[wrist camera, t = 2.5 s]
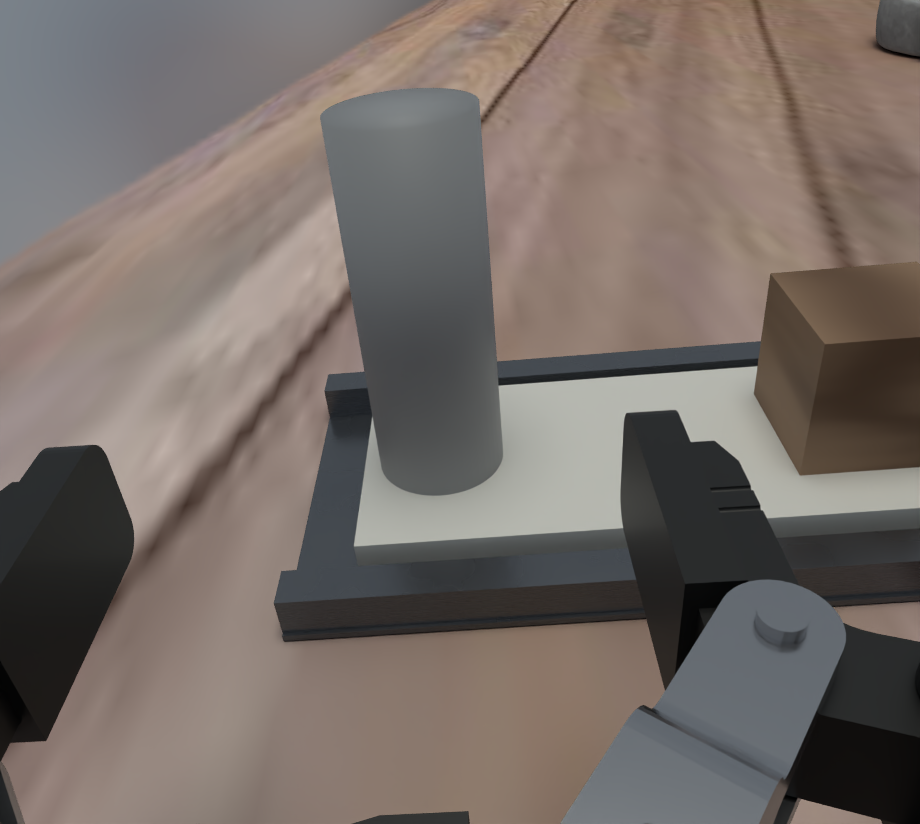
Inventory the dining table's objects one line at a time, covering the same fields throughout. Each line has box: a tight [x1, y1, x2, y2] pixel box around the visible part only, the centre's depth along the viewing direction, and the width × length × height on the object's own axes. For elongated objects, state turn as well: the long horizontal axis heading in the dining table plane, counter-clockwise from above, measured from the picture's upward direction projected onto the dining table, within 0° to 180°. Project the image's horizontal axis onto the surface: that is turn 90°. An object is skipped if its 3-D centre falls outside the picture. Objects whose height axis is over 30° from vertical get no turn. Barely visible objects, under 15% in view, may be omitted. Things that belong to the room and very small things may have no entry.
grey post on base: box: [320, 88, 920, 566], centre depth 24 cm, size 22×8×12 cm, turn 90°
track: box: [274, 341, 920, 641], centre depth 27 cm, size 34×12×1 cm, turn 90°
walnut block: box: [754, 262, 920, 476], centre depth 25 cm, size 4×4×4 cm
